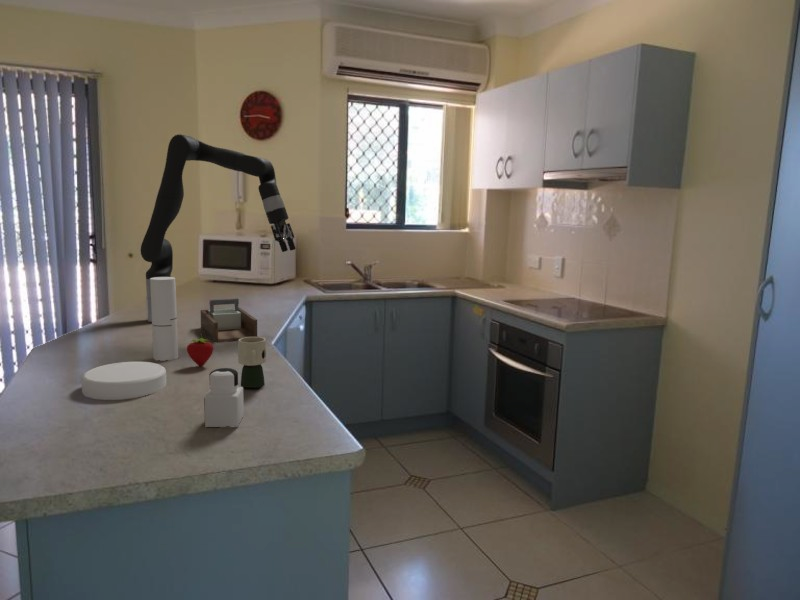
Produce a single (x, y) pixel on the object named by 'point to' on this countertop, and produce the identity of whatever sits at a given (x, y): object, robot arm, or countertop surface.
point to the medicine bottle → (223, 399)
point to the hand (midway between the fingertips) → (289, 250)
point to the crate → (226, 314)
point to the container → (123, 380)
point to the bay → (231, 334)
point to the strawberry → (200, 351)
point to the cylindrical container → (164, 318)
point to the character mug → (252, 360)
